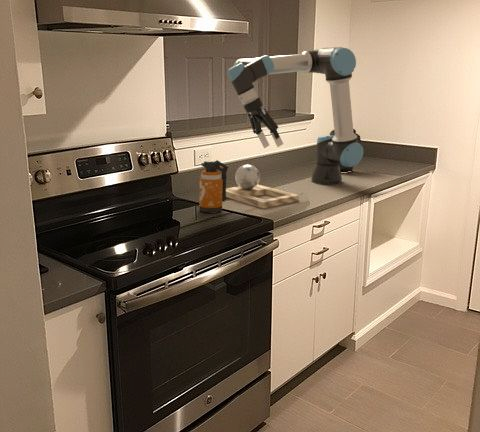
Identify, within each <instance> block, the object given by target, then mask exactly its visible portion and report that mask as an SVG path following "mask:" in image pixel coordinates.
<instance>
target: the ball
mask: <svg viewBox="0 0 480 432" xmlns="http://www.w3.org/2000/svg"><path fill="white" fill-rule="evenodd" d="M234 178H235V182H236V185H237V186H240V187H241V188H243V189H252V188H254V187H256V186H257V185H259V183H260V180H261V174H260V171H259V169H258V168H257V167H256V166H255V165H253V164H243V165H240V166H239V167H238V168H237V169H236V172H235V175H234Z"/></svg>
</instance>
